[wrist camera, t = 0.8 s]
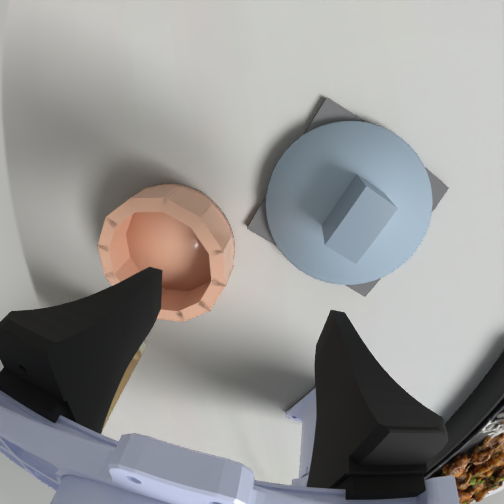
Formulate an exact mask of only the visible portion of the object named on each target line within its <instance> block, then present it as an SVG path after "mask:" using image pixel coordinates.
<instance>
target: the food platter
mask: <svg viewBox="0 0 504 504" xmlns="http://www.w3.org/2000/svg"><path fill="white" fill-rule="evenodd" d="M445 427H446V431H447V434H448V441H447V443H446V445H445V447H444V448H443V449H442V450H441V451H440V452H439V453H438V454H437V455H435V456H434V457H433V458H432V459H431V460H430V461H428V462H427V463H426V464H427V472H426V473H425V474H423V475H424V481H425V480H427V479H430V478H435V477H443V476H451V475H453V476H455V481H456V486H457V492H458V497H459V503H460V504H470V502H472V501H474V500H476V502H479V501H481V500H482V499H483V498H484V497H485V495H486V494H489V493H488V491H491V490H495V489H497V488H498V487H501V486H502V482H503V481H504V351H503V352H502V354H501V355H500V357H499V358H498V360H497V361H496V362H495V364H494V365H493V367H492V368H491V369H490V371H489V372H488V373H487V375H486V376H485V377H484V379H483V380H482V381H481V382H480V384H479V385H478V386H477V388H476V389H475V390H474V391H473V393H472V394H471V395H470V396H469V397H468V399H467V400H466V401H465V402H464V403H463V404H462V406H461V407H460V408H459V409H458V410H457V411H456V412H455V414H454V415H453V416H452V417H451V418H450V419H449V420H448V421H447V422H446V423H445Z"/></svg>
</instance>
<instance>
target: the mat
mask: <svg viewBox="0 0 504 504" xmlns="http://www.w3.org/2000/svg"><path fill="white" fill-rule="evenodd" d="M340 121H360V122H364V121H363V120H361V119H360V118H358V117H357V116H355V115H354V114H352V113H351V112H349V111H348V110H346V109H344V108H343V107H341V106H340V105H338V104H337V103H335V102H333V101H332V100H330V99H329V98H326V100H325V101H324V103H323V104H322V106H321V108H320V109H319V111H318V112H317V114H316V116H315V117H314V119H313V120H312V122H311V124H310V125H309V127H308V128H307V130H306V132H305V133H304V134H306V133H307V132H309V131H311V130H313V129H315V128H317V127H320V126H322V125H326V124H329V123H333V122H340ZM425 169H426V168H425ZM426 171H427V174H428V177H429V180H430V184H431V190H432V212H433V210H434V209H435V207H436V206H437V205H438V203H439V202H440V200H441V199H442V197H443V196H444V194H445V193H446V192H447V190H448V189H449V188H448V187H447V186H446V185H445V184H444V183H443V182H441V181H440V180H439V179H438V178H437V177H436V176H435V175H433V174H432V173H431V172H430V171H429V170H427V169H426ZM247 229H249V230H250V231H252V232H254V233H256V234H257V235H259V236H261V237H263V238H264V239H266V240H268V241H270V242H271V243H273V244H275V245H276V243H275V241H274V239H273V237H272V234H271V231H270V229H269V225H268V220H267V214H266V197H265V199H264V200H263V202H262V204H261V205H260V207H259V209H258V210H257V212H256V214H255V215H254V217H253V219H252V220H251V222H250V224H249V225H248V227H247ZM380 279H381V278H379V279H377V280H374V281H371V282H367V283H362V284H355V285H346V286H348V287H349V288H351V289H353V290H354V291H356V292H358V293H360V294H361V295H363V296H366V295H367V294H368V293H369V292H370V291H371V289H372V288H373V287H374V286H375V285H376V283H377V282H378V281H379V280H380Z"/></svg>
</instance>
